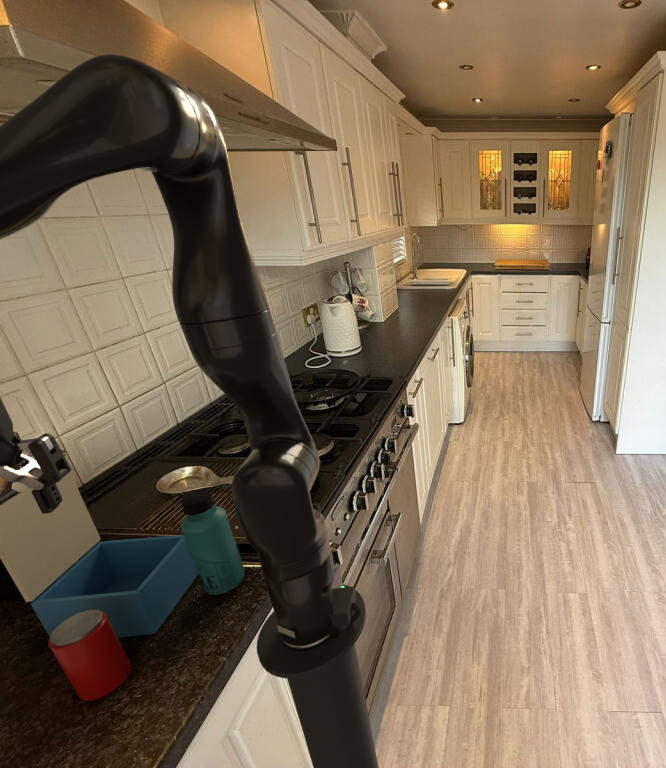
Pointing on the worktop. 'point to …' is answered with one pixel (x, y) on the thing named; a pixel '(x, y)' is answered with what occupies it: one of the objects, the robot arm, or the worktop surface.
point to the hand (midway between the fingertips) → (9, 516)
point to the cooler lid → (43, 536)
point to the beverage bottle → (211, 544)
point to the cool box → (122, 584)
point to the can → (90, 654)
